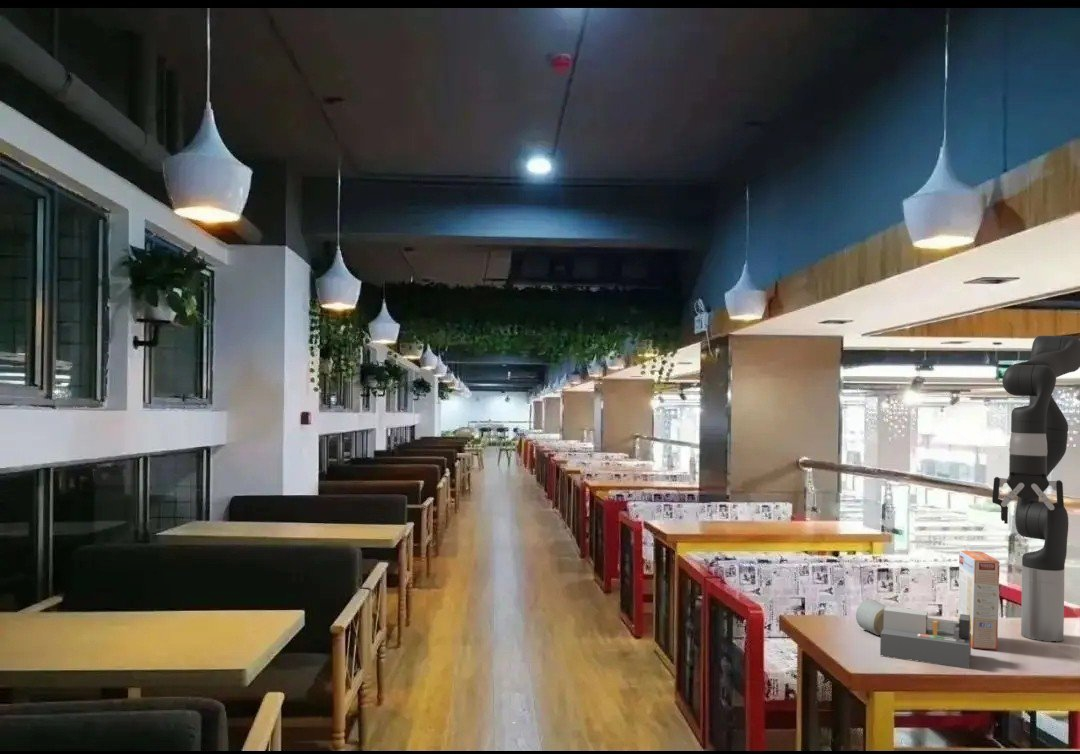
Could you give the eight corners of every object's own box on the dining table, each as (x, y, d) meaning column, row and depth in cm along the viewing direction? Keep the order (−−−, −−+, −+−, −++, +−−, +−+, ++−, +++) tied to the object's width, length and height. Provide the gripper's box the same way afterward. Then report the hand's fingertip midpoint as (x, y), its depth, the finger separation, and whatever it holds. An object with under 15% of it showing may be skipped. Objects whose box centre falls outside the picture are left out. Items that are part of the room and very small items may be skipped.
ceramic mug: (874, 638, 222) (875, 606, 222) (854, 629, 230) (855, 599, 230) (912, 637, 224) (913, 605, 225) (891, 628, 232) (892, 598, 233)
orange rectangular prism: (933, 634, 205) (933, 620, 205) (937, 634, 205) (937, 621, 205) (932, 635, 204) (933, 621, 204) (936, 636, 204) (937, 622, 204)
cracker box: (999, 651, 213) (1000, 560, 214) (971, 649, 214) (972, 559, 215) (983, 635, 227) (984, 550, 227) (956, 633, 228) (958, 549, 229)
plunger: (917, 626, 213) (917, 608, 213) (969, 632, 208) (970, 615, 208) (913, 634, 205) (914, 616, 205) (968, 642, 200) (968, 623, 200)
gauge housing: (886, 643, 217) (887, 604, 218) (970, 654, 209) (971, 614, 209) (880, 655, 207) (880, 614, 207) (968, 668, 199) (969, 625, 199)
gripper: (1063, 454, 208) (1062, 525, 208) (993, 450, 215) (992, 520, 214) (1065, 455, 202) (1064, 529, 201) (992, 452, 208) (991, 524, 208)
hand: (1027, 524), depth 208 cm, fingers open, 8 cm apart
